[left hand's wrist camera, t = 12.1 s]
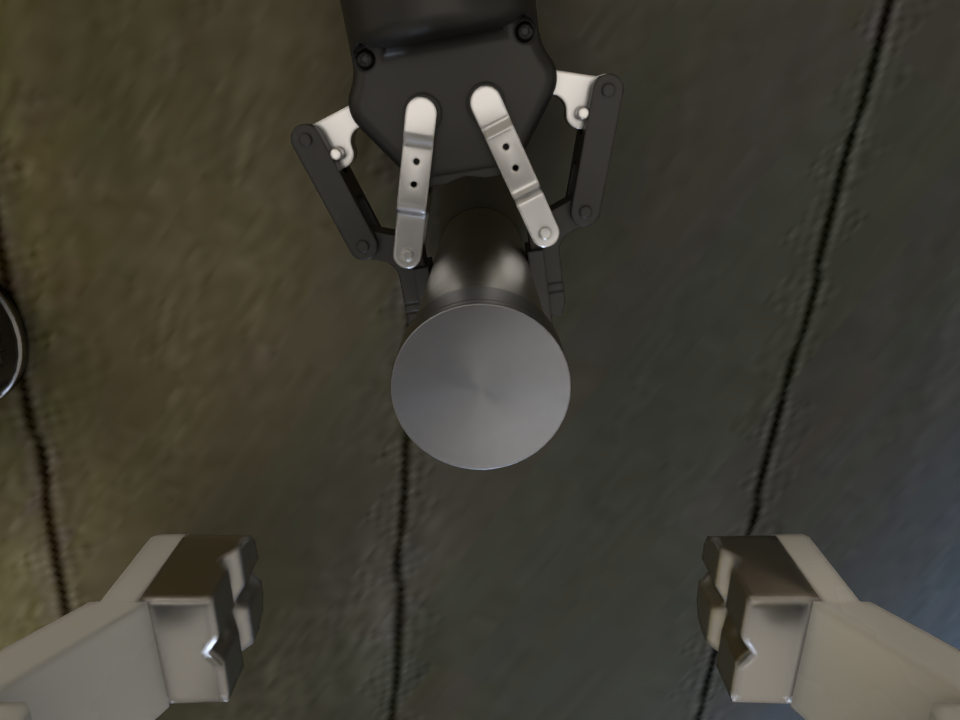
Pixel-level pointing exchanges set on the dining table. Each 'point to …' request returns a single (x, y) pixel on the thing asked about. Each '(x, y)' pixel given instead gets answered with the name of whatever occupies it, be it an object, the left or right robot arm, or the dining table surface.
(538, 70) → the right robot arm
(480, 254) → the dark grey cylindrical bottle
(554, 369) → the lid
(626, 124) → the dining table surface
